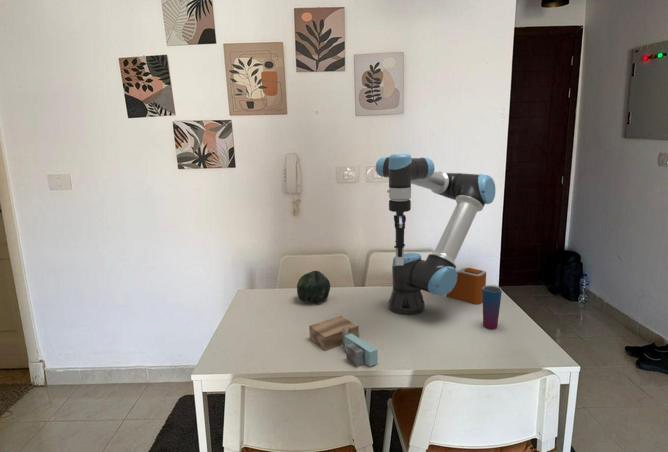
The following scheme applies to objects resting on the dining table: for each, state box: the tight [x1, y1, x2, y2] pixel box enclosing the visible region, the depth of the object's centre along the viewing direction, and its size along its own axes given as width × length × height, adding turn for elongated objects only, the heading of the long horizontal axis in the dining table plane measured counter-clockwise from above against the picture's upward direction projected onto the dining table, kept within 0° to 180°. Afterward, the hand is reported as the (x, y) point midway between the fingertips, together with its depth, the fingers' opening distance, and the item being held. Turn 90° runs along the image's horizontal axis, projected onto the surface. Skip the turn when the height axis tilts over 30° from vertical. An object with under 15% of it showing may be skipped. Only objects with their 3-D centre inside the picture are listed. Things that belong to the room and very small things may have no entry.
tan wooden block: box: [308, 315, 365, 368], centre depth 150 cm, size 26×14×7 cm, turn 33°
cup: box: [482, 285, 503, 330], centre depth 161 cm, size 7×7×15 cm
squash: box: [296, 270, 331, 304], centre depth 192 cm, size 14×15×15 cm
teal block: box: [344, 333, 379, 368], centre depth 143 cm, size 14×3×5 cm, turn 34°
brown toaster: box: [446, 267, 487, 305], centre depth 189 cm, size 15×8×14 cm, turn 47°
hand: (399, 264), depth 154 cm, fingers closed
